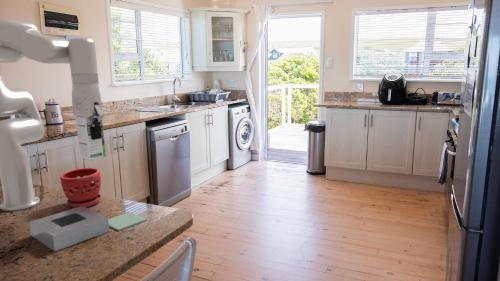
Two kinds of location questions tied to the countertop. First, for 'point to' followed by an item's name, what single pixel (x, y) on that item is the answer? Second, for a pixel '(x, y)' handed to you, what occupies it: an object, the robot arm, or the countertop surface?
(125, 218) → the rubber mat
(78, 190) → the plant pot
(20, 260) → the countertop surface
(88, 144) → the syrup box
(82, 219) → the socket block
